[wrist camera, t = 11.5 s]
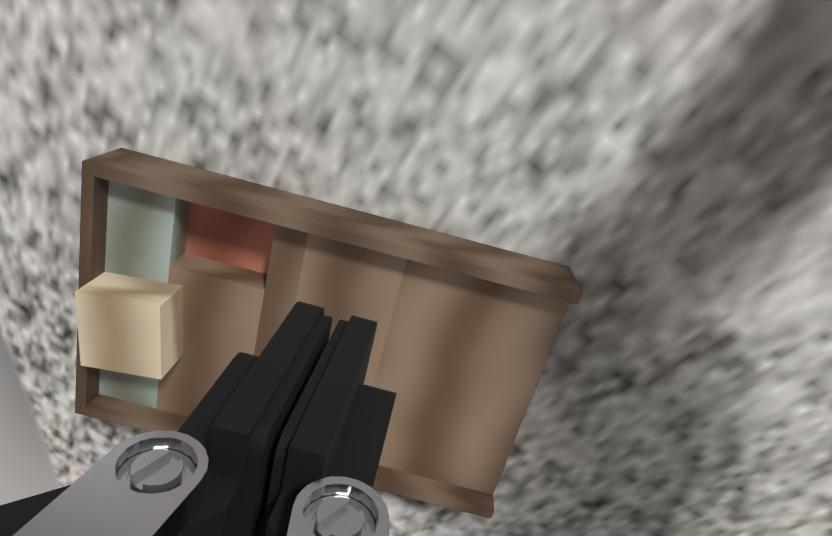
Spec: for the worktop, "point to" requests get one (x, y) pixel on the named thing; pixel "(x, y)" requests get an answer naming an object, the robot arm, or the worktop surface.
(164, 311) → the maple block
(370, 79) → the worktop surface
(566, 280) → the box
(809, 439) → the worktop surface
